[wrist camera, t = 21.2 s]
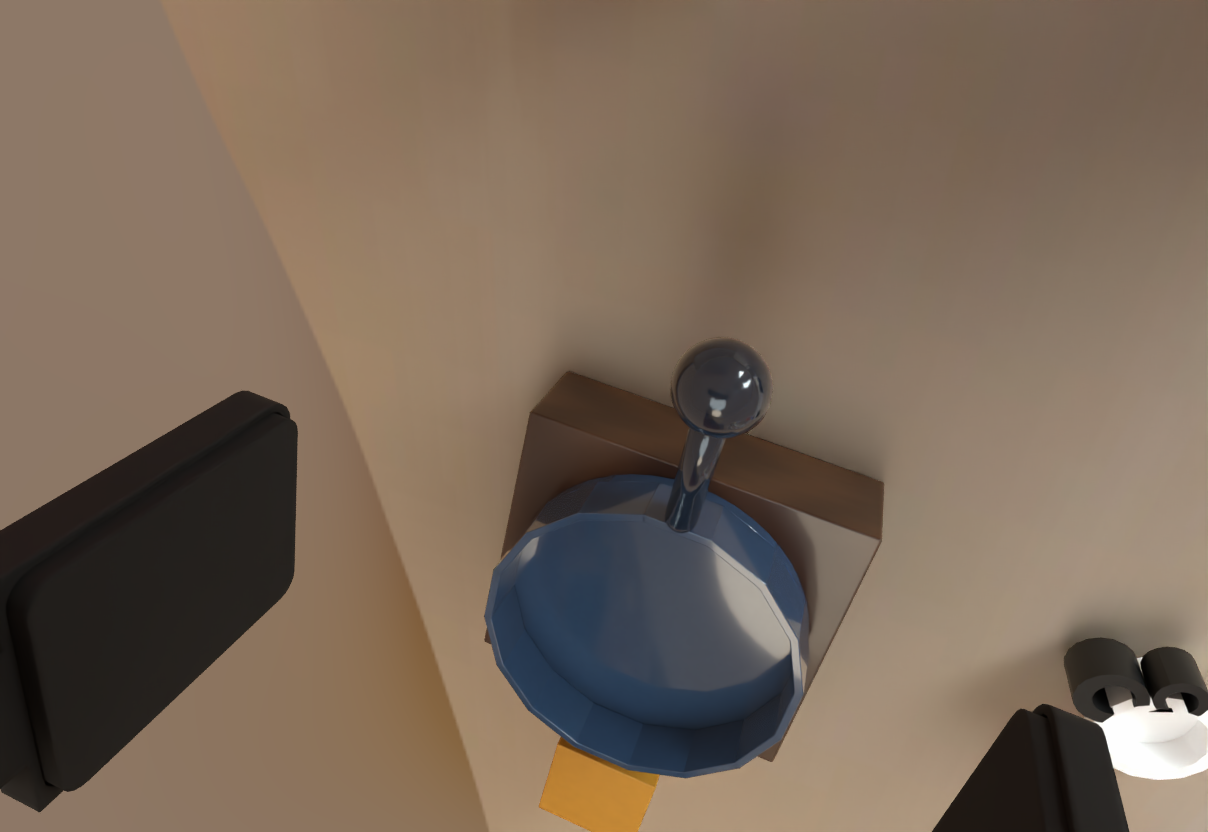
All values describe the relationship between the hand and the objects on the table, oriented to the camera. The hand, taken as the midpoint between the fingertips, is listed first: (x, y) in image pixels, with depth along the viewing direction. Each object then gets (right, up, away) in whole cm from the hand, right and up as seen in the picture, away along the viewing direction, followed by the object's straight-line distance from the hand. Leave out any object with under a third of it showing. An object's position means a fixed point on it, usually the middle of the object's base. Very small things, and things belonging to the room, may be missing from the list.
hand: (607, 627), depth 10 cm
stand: (+3, -3, +25) cm, 25 cm away
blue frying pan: (+3, -2, +20) cm, 20 cm away
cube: (0, -14, +27) cm, 30 cm away
